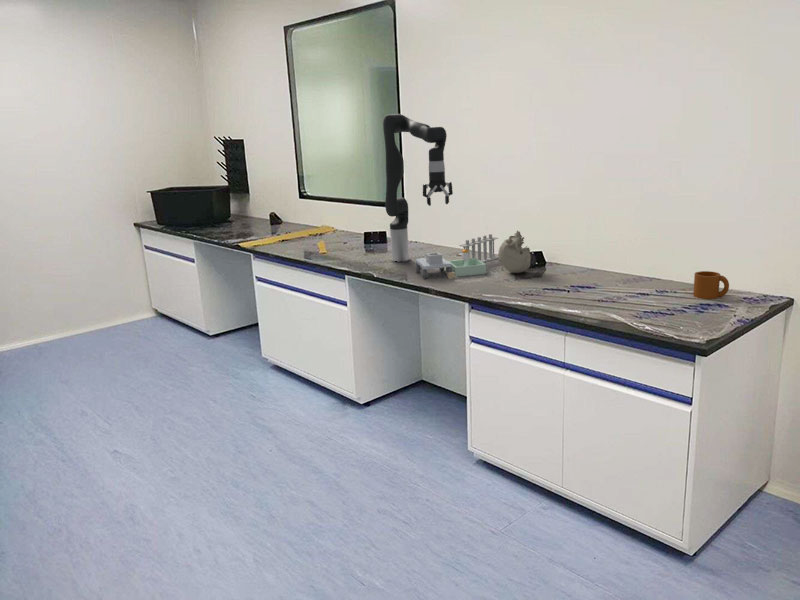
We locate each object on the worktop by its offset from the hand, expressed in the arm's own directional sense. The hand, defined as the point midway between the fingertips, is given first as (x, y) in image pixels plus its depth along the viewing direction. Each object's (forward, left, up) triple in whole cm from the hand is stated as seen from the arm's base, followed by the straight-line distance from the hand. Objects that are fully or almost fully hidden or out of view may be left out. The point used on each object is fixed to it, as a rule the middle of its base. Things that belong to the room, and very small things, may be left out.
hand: (438, 204), depth 300 cm
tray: (+10, +10, -32) cm, 35 cm away
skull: (+22, +30, -32) cm, 49 cm away
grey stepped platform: (+9, -6, -32) cm, 34 cm away
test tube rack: (-6, +22, -32) cm, 40 cm away
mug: (+89, +83, -32) cm, 126 cm away
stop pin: (+10, +10, -31) cm, 34 cm away
